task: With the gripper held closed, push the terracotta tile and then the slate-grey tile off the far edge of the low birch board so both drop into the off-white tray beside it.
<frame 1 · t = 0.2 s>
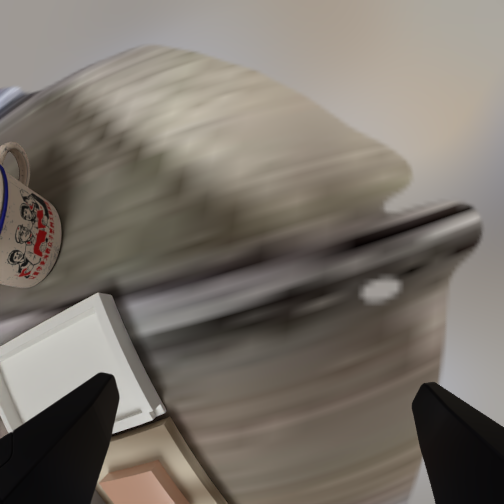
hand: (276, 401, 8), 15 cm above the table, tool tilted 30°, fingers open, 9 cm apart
birch board: (129, 495, 19), on the table
teacup with lid: (32, 227, 24), on the table
terracotta tile: (149, 491, 17), point 2 cm above the table, touching birch board
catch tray: (64, 385, 21), on the table
slate tile: (83, 502, 17), point 2 cm above the table, touching birch board
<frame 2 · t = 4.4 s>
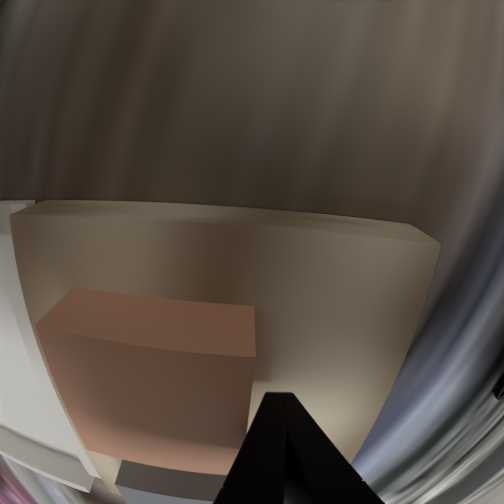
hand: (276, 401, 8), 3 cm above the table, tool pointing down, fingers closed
birch board: (213, 403, 11), on the table
terracotta tile: (162, 370, 8), point 2 cm above the table, touching gripper
slate tile: (189, 482, 11), point 2 cm above the table, touching birch board
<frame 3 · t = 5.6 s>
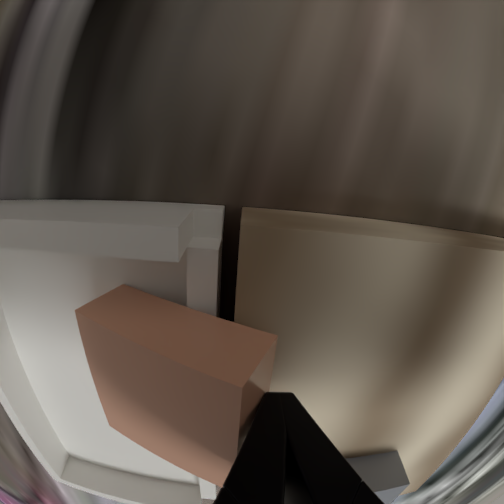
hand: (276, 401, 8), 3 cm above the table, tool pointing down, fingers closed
birch board: (367, 402, 12), on the table
terracotta tile: (191, 375, 9), point 2 cm above the table, tilted 24°, touching gripper
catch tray: (104, 386, 11), on the table
slate tile: (331, 483, 11), point 2 cm above the table, touching birch board
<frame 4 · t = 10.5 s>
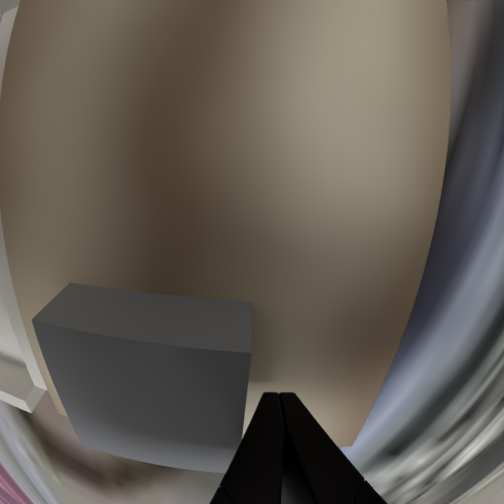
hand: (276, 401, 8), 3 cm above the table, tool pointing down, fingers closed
birch board: (203, 217, 9), on the table
slate tile: (159, 367, 8), point 2 cm above the table, touching gripper
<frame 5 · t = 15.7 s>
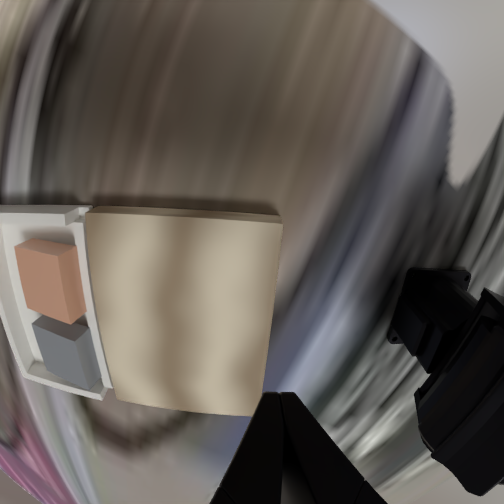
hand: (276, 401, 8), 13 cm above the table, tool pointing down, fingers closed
birch board: (184, 318, 22), on the table
terracotta tile: (57, 274, 19), point 1 cm above the table, tilted 11°, touching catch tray
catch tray: (52, 300, 21), on the table
slate tile: (72, 344, 22), point 1 cm above the table, tilted 11°, touching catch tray
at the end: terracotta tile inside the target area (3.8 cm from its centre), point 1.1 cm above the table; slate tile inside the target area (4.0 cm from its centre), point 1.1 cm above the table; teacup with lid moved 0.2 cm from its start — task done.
